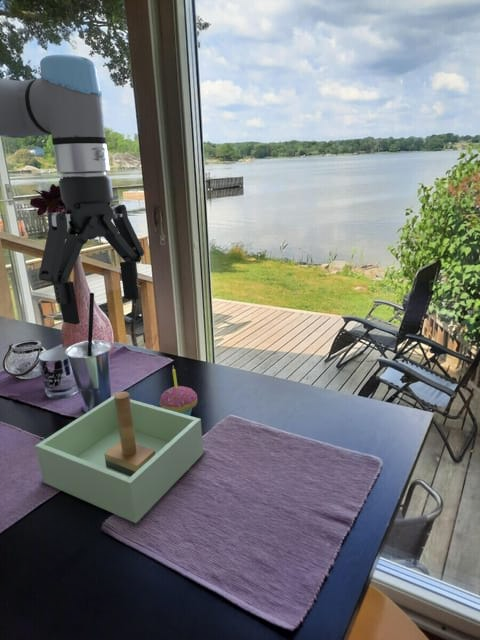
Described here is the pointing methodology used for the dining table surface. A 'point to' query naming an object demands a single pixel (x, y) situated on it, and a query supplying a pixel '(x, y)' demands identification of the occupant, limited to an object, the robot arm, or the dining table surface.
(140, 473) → the tub
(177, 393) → the cupcake
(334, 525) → the dining table surface
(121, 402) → the wooden stamp
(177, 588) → the dining table surface
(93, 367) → the tall metal cup
